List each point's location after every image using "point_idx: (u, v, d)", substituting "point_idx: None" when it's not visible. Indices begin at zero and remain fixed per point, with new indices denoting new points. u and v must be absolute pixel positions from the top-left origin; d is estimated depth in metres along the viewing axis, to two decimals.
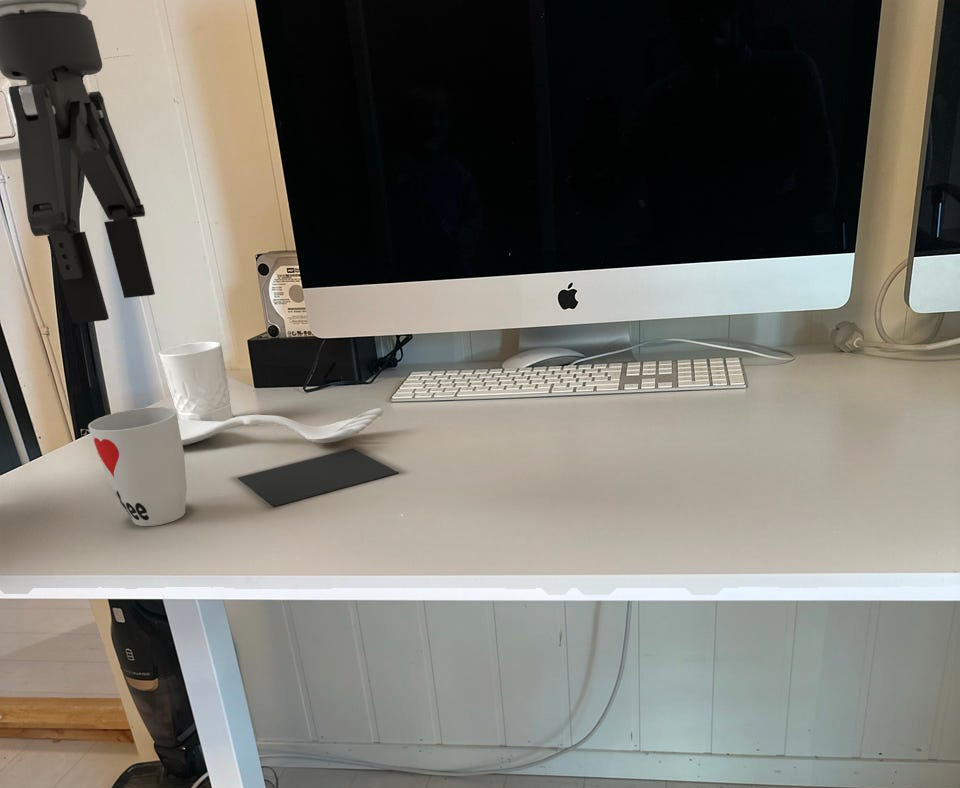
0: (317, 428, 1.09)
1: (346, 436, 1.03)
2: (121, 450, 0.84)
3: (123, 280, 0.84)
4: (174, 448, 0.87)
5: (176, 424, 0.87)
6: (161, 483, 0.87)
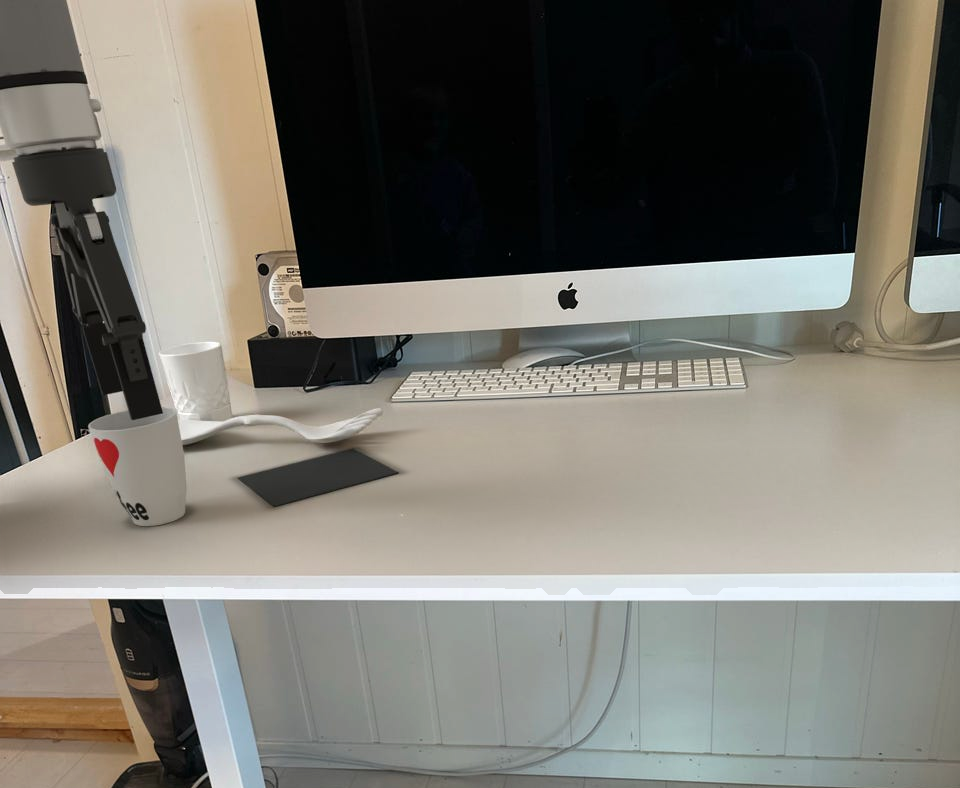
0: (317, 428, 1.09)
1: (346, 436, 1.03)
2: (121, 450, 0.84)
3: (102, 379, 0.89)
4: (174, 448, 0.87)
5: (176, 424, 0.87)
6: (161, 483, 0.87)
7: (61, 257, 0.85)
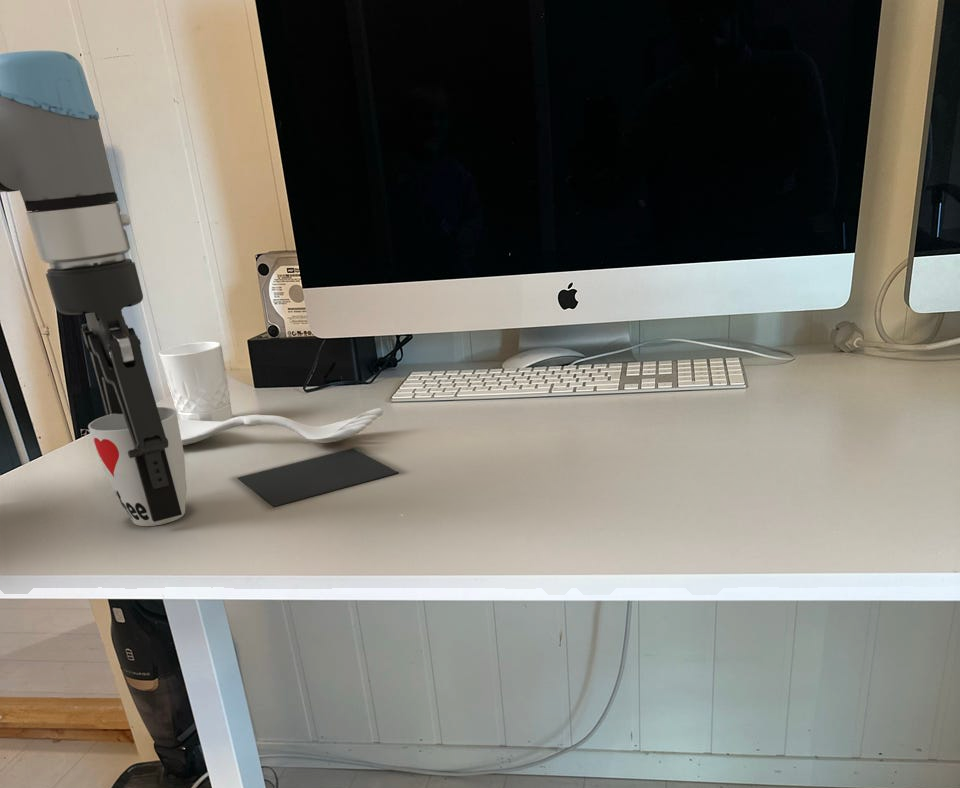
0: (317, 428, 1.09)
1: (346, 436, 1.03)
2: (121, 450, 0.84)
3: None
4: (174, 448, 0.87)
5: (176, 424, 0.87)
6: None
7: None
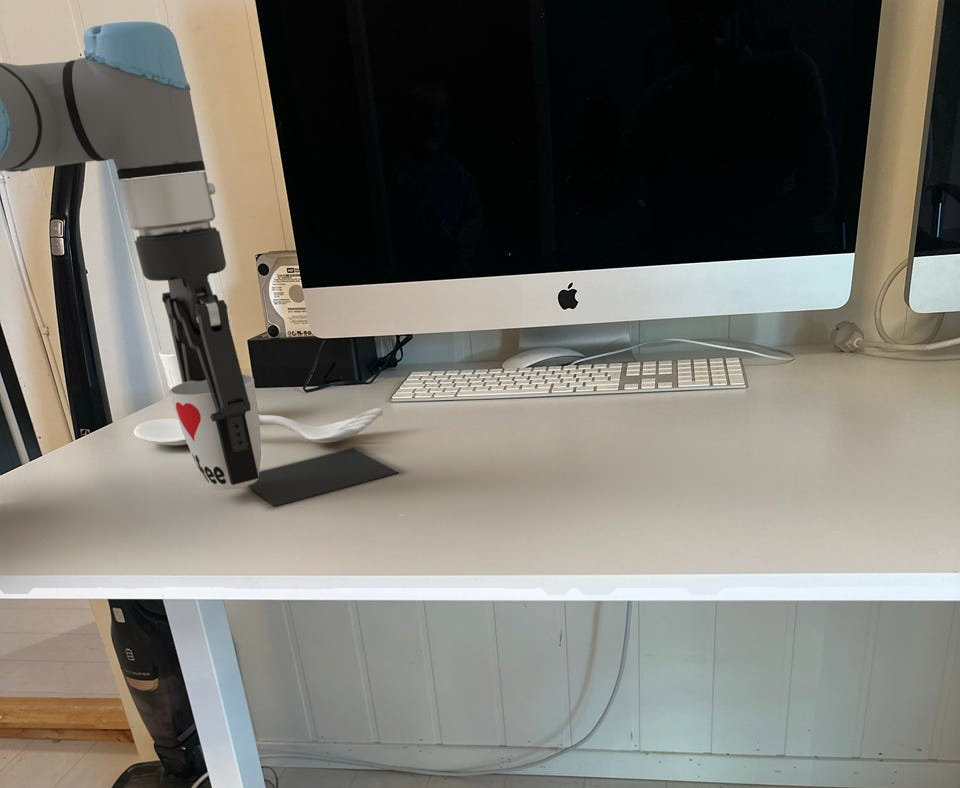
0: (317, 428, 1.09)
1: (346, 436, 1.03)
2: (202, 414, 0.86)
3: None
4: (252, 413, 0.89)
5: (254, 390, 0.89)
6: None
7: (172, 334, 0.92)
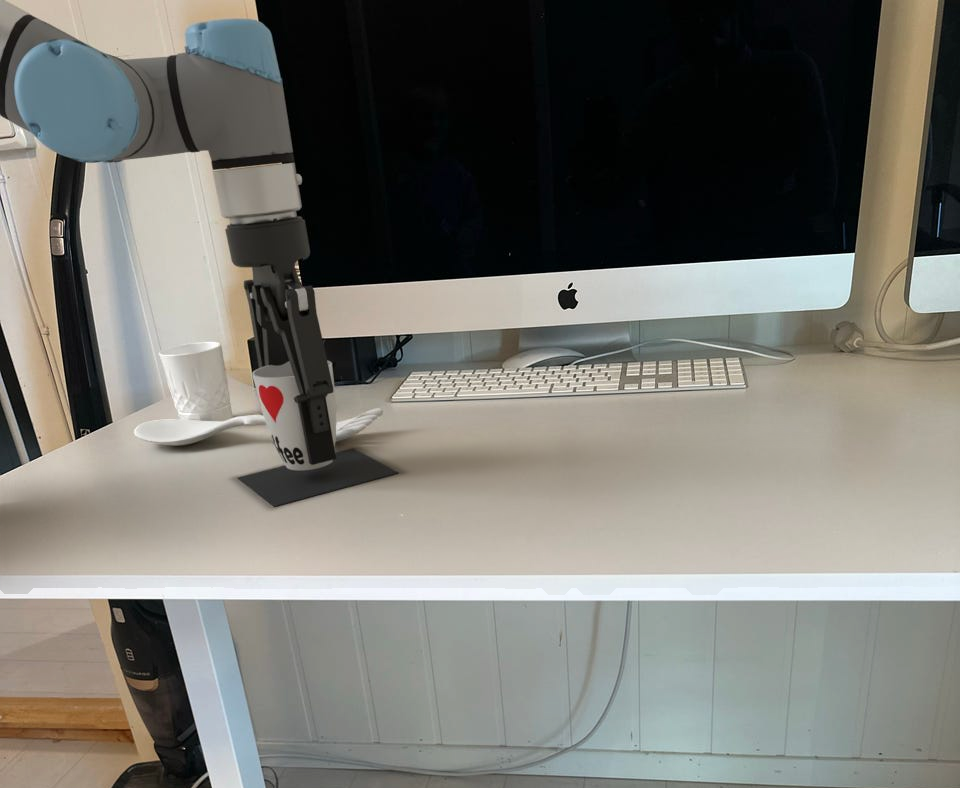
0: None
1: (346, 436, 1.03)
2: (285, 396, 0.90)
3: None
4: (331, 396, 0.93)
5: (332, 373, 0.93)
6: None
7: None
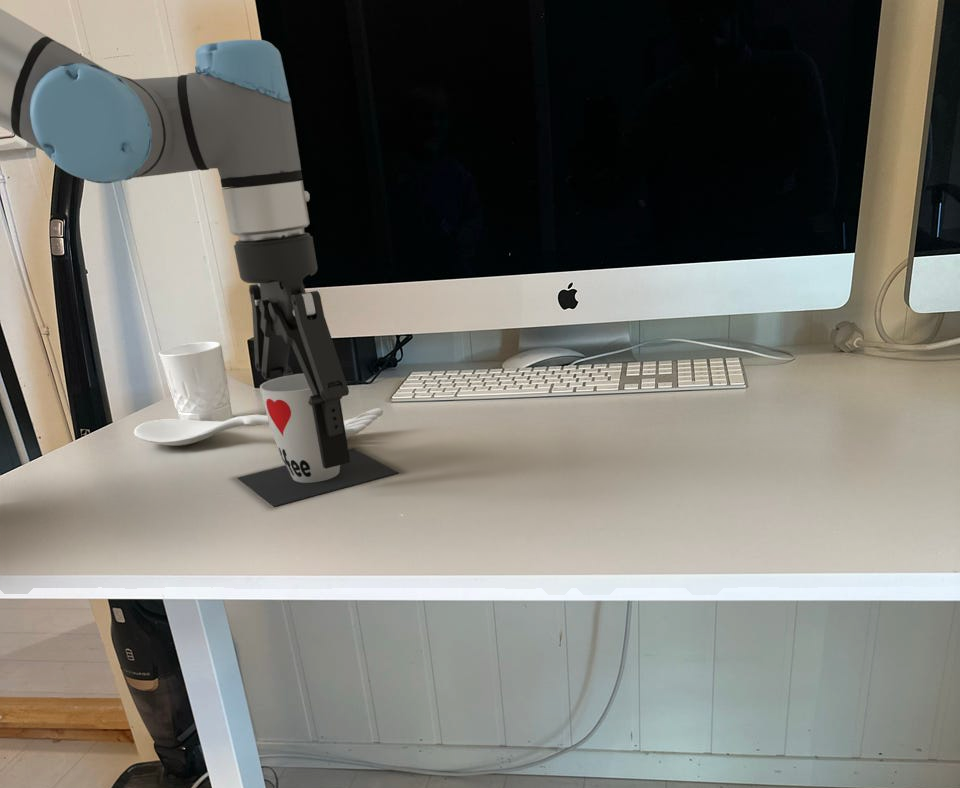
0: None
1: (346, 436, 1.03)
2: (293, 410, 0.91)
3: None
4: None
5: None
6: None
7: (253, 321, 0.96)
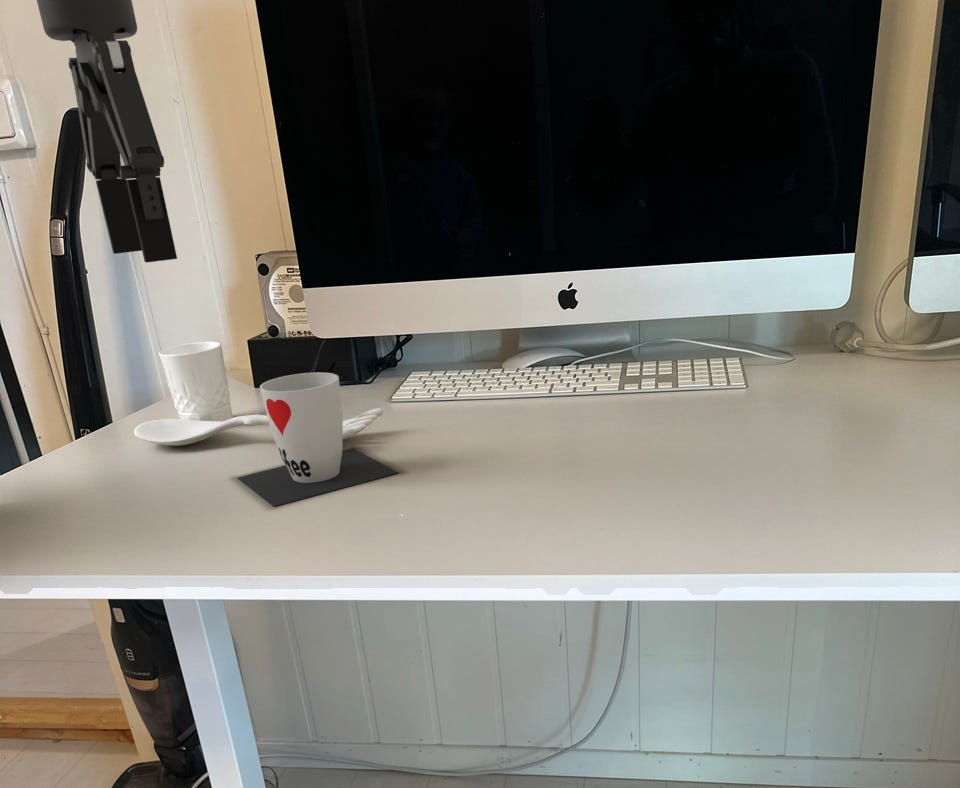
0: None
1: (346, 436, 1.03)
2: (293, 410, 0.91)
3: (114, 236, 0.89)
4: (337, 410, 0.94)
5: (339, 387, 0.94)
6: (325, 441, 0.94)
7: None
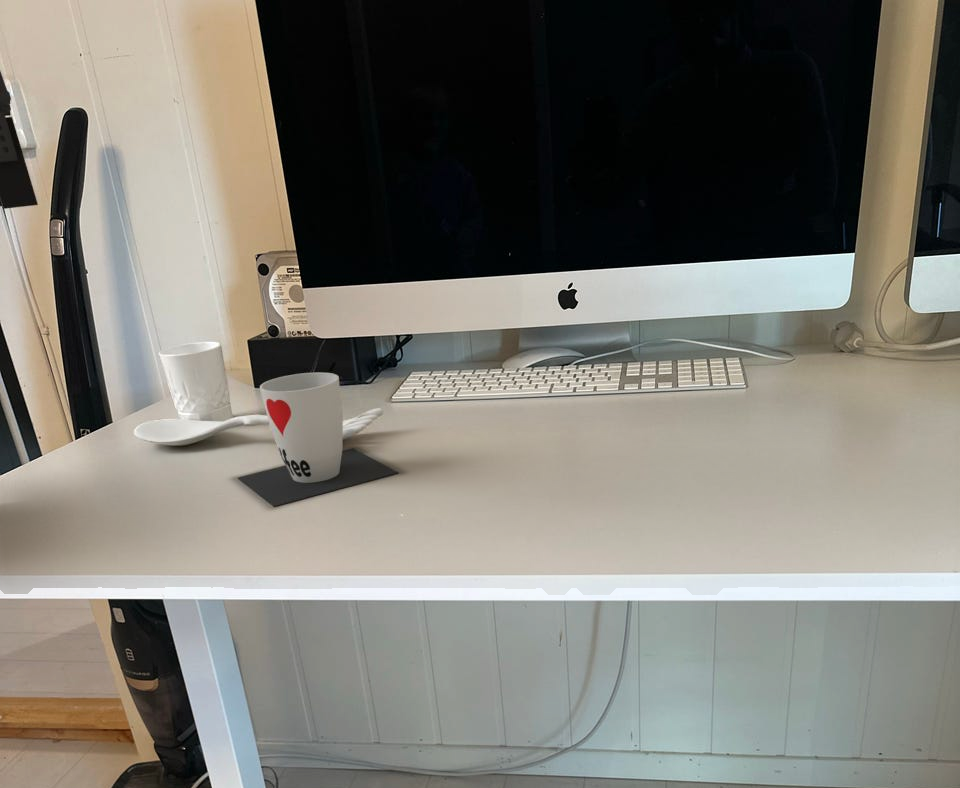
0: None
1: (346, 436, 1.03)
2: (293, 410, 0.91)
3: None
4: (337, 410, 0.94)
5: (339, 387, 0.94)
6: (325, 441, 0.94)
7: None
